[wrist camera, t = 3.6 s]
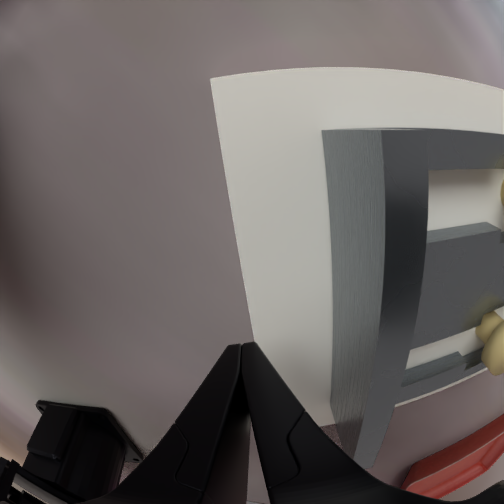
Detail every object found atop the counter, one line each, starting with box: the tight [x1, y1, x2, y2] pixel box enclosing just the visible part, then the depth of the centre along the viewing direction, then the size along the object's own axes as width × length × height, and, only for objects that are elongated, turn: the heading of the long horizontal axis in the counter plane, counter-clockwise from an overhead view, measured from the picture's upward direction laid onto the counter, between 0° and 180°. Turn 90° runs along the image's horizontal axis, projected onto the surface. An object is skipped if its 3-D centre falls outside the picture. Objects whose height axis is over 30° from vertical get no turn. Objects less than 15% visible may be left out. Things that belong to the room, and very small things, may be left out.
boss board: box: [210, 67, 504, 427], centre depth 10 cm, size 16×22×4 cm
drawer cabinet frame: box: [321, 127, 504, 469], centre depth 8 cm, size 12×12×4 cm
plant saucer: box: [400, 414, 504, 499], centre depth 22 cm, size 18×18×3 cm
